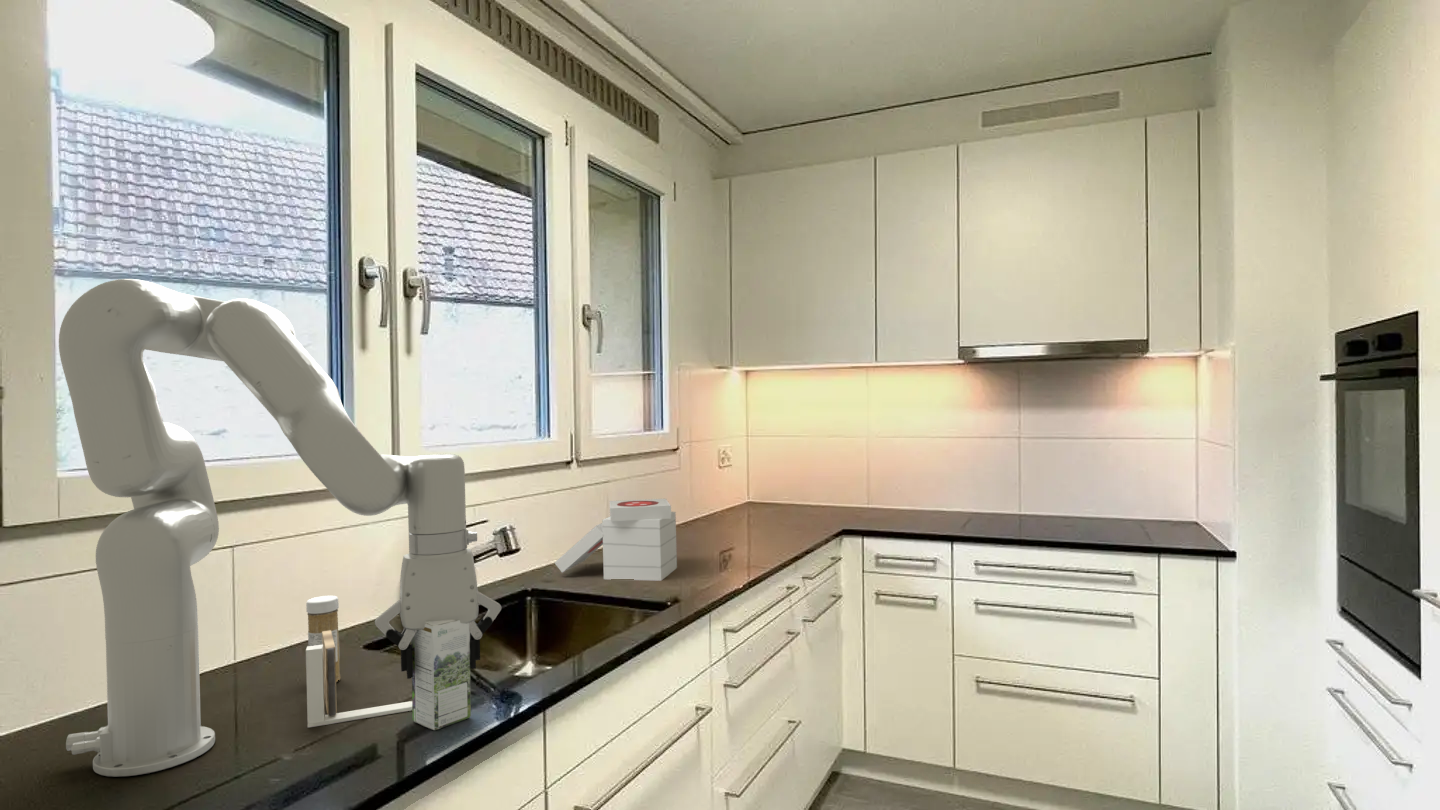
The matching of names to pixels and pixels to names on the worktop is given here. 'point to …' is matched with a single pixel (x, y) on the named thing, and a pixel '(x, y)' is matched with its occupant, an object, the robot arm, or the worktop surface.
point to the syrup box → (441, 674)
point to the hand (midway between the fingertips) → (441, 669)
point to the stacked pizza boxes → (631, 541)
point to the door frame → (318, 702)
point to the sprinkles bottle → (323, 622)
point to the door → (329, 672)
